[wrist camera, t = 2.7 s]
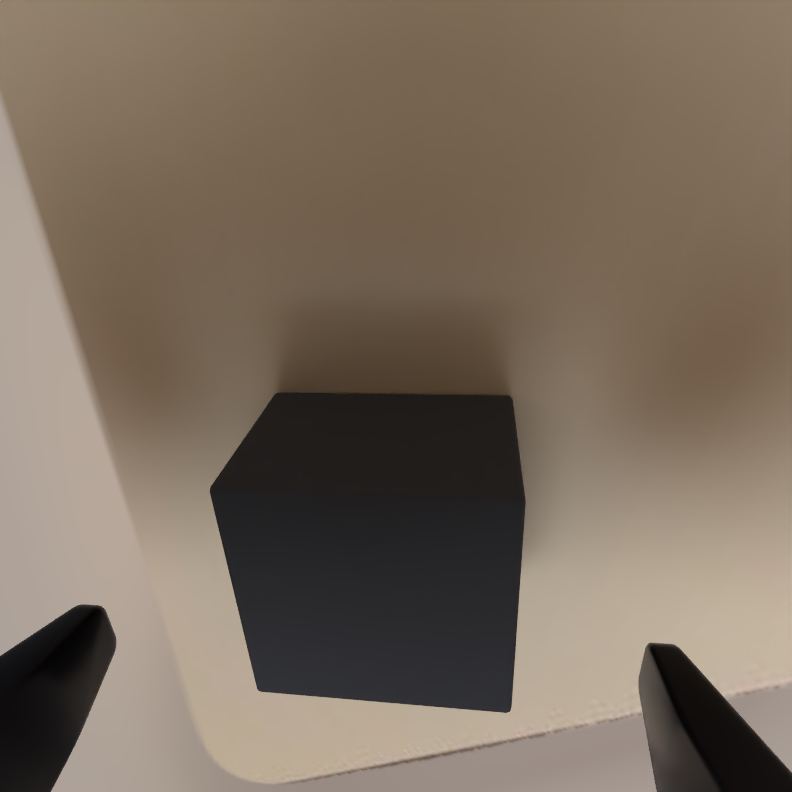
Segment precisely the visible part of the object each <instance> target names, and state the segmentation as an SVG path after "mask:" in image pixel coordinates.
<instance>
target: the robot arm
mask: <svg viewBox="0 0 792 792" xmlns="http://www.w3.org/2000/svg"><path fill="white" fill-rule="evenodd" d="M115 648H116V636H115V633H114V631H113V629H112V626H111V623H110V621H109V618H108V616H107V613H106V611H105V609H104V608H103V607H101V606H98V605H78V606H76V607H74V608H72V609H71V610H69V611H68V612H66V613H65V614H63V615H62V616H60V617H58V618H57V619H55V620H54V621H53V622H51V623H49V624H48V625H47V626H45V627H43V628H42V629H40V630H39V631H37V632H36V633H34V634H33V635H31V636H30V637H28V638H27V639H26V640H24V641H22V642H21V643H19V644H18V645H16V646H15V647H13V648H12V649H10V650H9V651H7V652H6V653H4V654H3V655H1V656H0V792H51V790H52V788H53V786H54V784H55V783H56V781H57V779H58V777H59V775H60V773H61V771H62V769H63V767H64V766H65V764H66V762H67V760H68V758H69V756H70V754H71V752H72V750H73V748H74V746H75V744H76V742H77V740H78V737H79V735H80V733H81V731H82V729H83V726H84V724H85V722H86V719H87V717H88V715H89V712H90V710H91V707H92V705H93V702H94V700H95V698H96V696H97V693H98V691H99V688H100V686H101V684H102V681H103V679H104V676H105V674H106V672H107V669H108V667H109V664H110V662H111V660H112V657H113V655H114V652H115ZM639 694H640V700H641V706H642V711H643V717H644V723H645V728H646V734H647V739H648V745H649V751H650V756H651V761H652V767H653V773H654V779H655V784H656V789H657V792H792V773H791V772H790V770H789V769H788V768H787V767H786V766H785V765H784V764H783V763H782V762H781V760H780V759H779V758H778V757H777V756H776V755H775V754H774V753H773V752H772V750H771V749H770V748H769V747H768V746H767V745H766V744H765V743H764V741H763V740H762V739H761V738H760V737H759V736H758V735H757V734H756V733H755V731H754V730H753V729H752V728H751V727H750V726H749V725H748V724H747V723H746V721H745V720H744V719H743V718H742V717H741V716H740V715H739V714H738V713H737V712H736V711H735V709H734V708H733V707H732V706H731V705H730V704H729V703H728V701H727V700H726V699H725V698H724V697H723V696H722V695H721V694H720V693H719V691H718V690H717V689H716V688H715V687H714V686H713V685H712V684H711V683H710V681H709V680H708V679H707V678H706V677H705V676H704V675H703V674H702V673H701V671H700V670H699V669H698V668H697V667H696V666H695V665H694V664H693V663H692V661H691V660H690V659H689V658H688V657H687V656H686V655H685V654H684V653H683V651H682V650H681V649H680V648H678V647H677V646H675V645H673V644H663V643H649V644H648V645H647V646H646V648H645V652H644V657H643V661H642V666H641V670H640V675H639Z"/></svg>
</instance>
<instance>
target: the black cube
mask: <svg viewBox="0 0 792 792" xmlns="http://www.w3.org/2000/svg"><path fill="white" fill-rule="evenodd" d="M210 494H211V498H212V503H213V507H214V511H215V515H216V519H217V523H218V527H219V532H220V536H221V540H222V544H223V548H224V552H225V557H226V561H227V565H228V569H229V573H230V577H231V581H232V586H233V590H234V594H235V598H236V602H237V606H238V611H239V615H240V619H241V623H242V627H243V631H244V635H245V640H246V644H247V648H248V652H249V656H250V660H251V665H252V669H253V673H254V677H255V681H256V685H257V689H258V690H259V691H261V692H272V693H283V694H295V695H306V696H318V697H330V698H341V699H353V700H365V701H376V702H388V703H400V704H411V705H423V706H434V707H446V708H458V709H469V710H481V711H493V712H504V713H507V712H510V710H511V705H512V690H513V676H514V661H515V647H516V632H517V618H518V603H519V589H520V574H521V560H522V545H523V530H524V516H525V494H524V486H523V478H522V470H521V463H520V455H519V447H518V439H517V431H516V423H515V415H514V407H513V400H512V398H511V397H510V396H483V395H407V394H332V393H277V394H275V395H274V396H273V398H272V399H271V401H270V402H269V404H268V405H267V407H266V408H265V409H264V411H263V412H262V414H261V415H260V417H259V418H258V420H257V421H256V422H255V424H254V425H253V427H252V428H251V430H250V431H249V432H248V434H247V435H246V437H245V438H244V440H243V441H242V443H241V444H240V445H239V447H238V448H237V450H236V451H235V453H234V454H233V456H232V457H231V458H230V460H229V461H228V463H227V464H226V466H225V467H224V469H223V470H222V471H221V473H220V474H219V476H218V477H217V479H216V480H215V482H214V483H213V484H212V486H211V488H210Z"/></svg>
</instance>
